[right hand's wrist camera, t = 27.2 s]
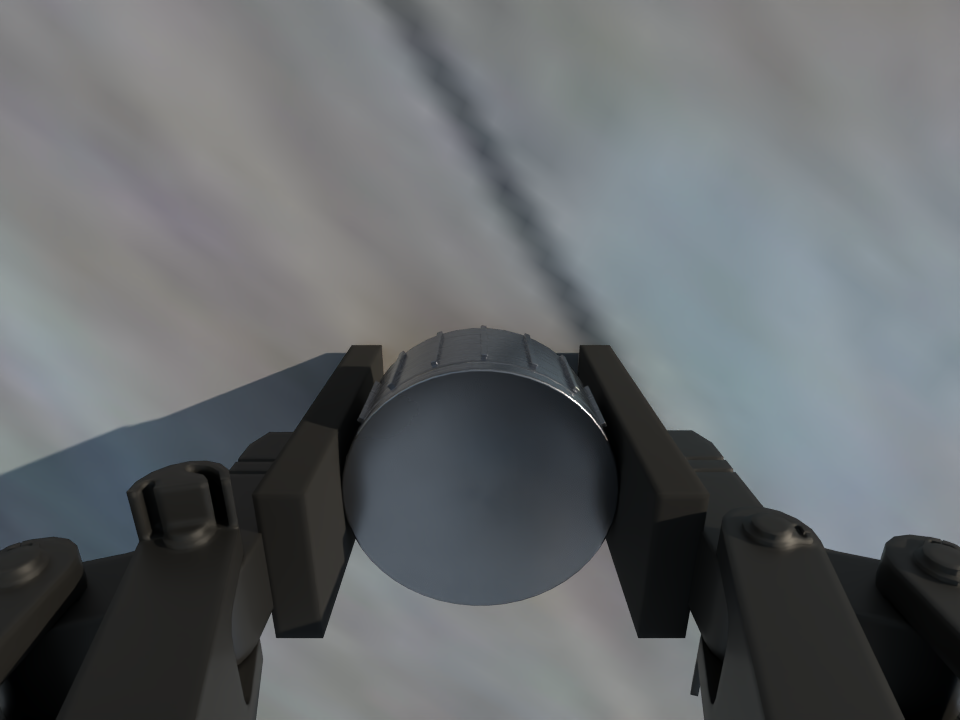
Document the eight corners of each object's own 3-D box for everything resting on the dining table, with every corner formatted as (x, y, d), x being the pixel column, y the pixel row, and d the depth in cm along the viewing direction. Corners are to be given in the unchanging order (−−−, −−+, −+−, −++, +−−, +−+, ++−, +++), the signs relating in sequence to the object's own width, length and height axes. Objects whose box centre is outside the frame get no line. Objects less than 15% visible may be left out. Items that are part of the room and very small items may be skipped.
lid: (413, 556, 13) (400, 636, 11) (325, 367, 12) (289, 416, 9) (621, 499, 13) (650, 571, 11) (560, 290, 11) (581, 324, 9)
